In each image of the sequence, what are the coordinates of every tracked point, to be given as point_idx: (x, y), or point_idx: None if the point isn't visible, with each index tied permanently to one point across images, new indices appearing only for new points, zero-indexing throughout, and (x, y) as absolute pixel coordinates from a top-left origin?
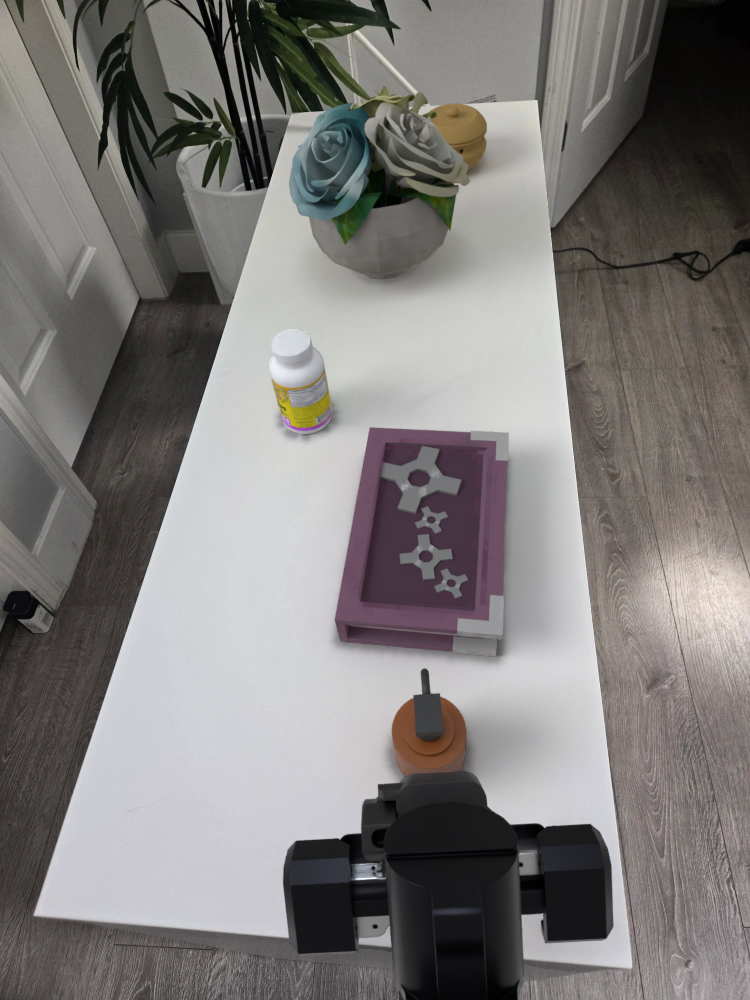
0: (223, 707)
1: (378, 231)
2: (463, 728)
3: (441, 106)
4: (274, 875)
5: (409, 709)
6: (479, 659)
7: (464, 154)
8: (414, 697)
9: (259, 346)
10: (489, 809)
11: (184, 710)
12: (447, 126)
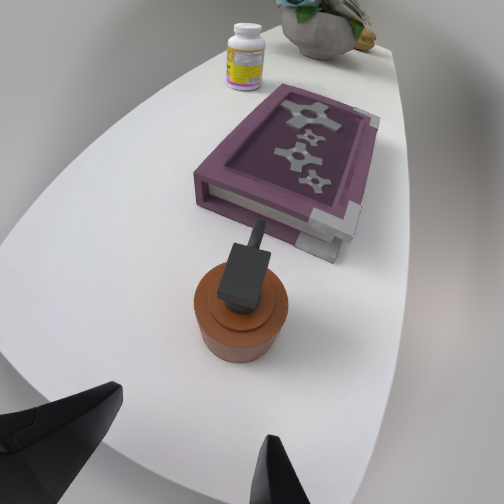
0: (86, 224)
1: (318, 22)
2: (284, 313)
3: None
4: (63, 367)
5: None
6: (317, 260)
7: (364, 41)
8: (234, 245)
9: None
10: (292, 472)
11: (64, 217)
12: None
